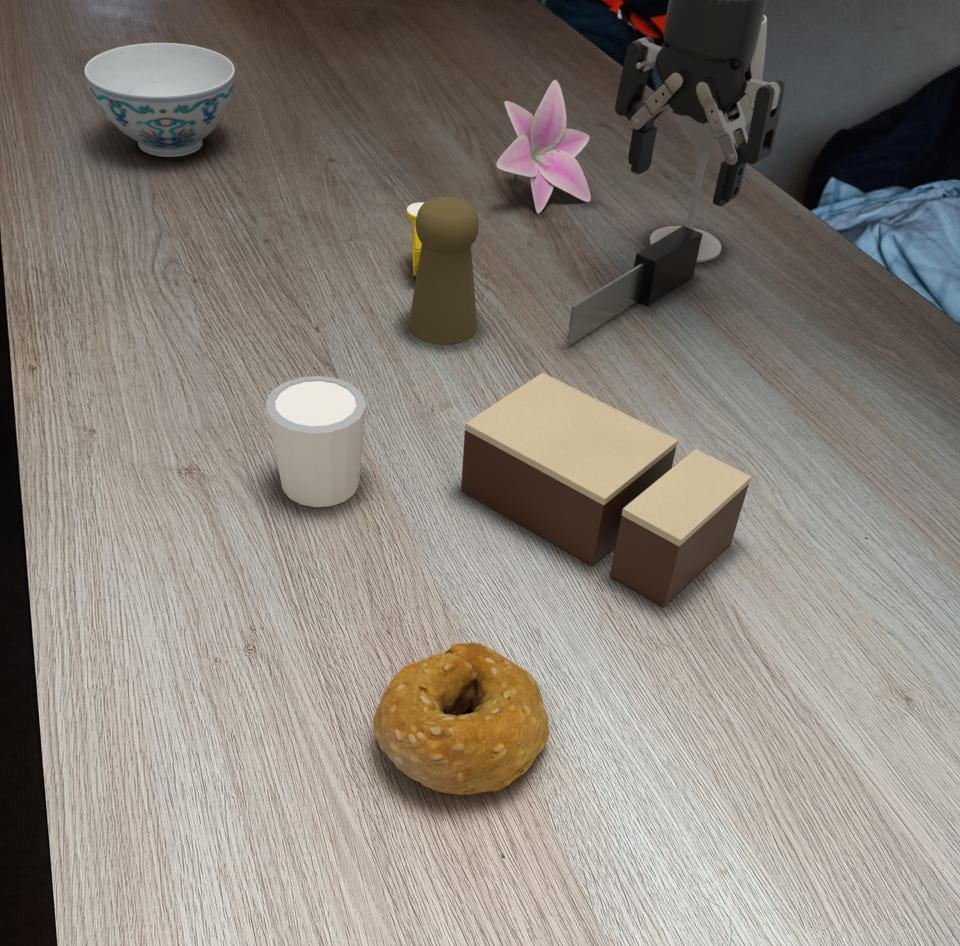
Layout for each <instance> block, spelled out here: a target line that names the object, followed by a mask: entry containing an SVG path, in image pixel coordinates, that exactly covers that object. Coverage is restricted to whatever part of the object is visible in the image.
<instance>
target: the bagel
mask: <svg viewBox="0 0 960 946" xmlns="http://www.w3.org/2000/svg"><path fill="white" fill-rule="evenodd" d="M544 706H545V705H544V699H543V697H542V694H541V689H540V687H539V685H538V682H537V680H535V679H534V677H533V676H532V674H531V673H530V672H529V671H528V670H526V669H525V668H523V667H522V666H520V665H518V664H516V663H515V662H513V661H512V660H510V659H508V658H506V657H505V656H503V654H500V653H499V652H497V651H495V650H494V649H492V648H491V647H488V646H486V645H484V644H481V643H479V642H472V641H471V642H467V643H466V642H465V643H462V642H459V643H456V644H454V645H453V644H452V645H451V646H450V647H449V648H448V649H447V650H446V651H445V652H440V653H437V654H431V655H430V656H428V657H425V658H423V659H420V660H418V661H414V662H410V663H408V664H407V665H405V666H404V667H402V669H401V670H399V671H398V672H397V673H396V675H395V676H394V677H393V678H392V679H391V680H390V682H389V684H388V685H387V687H386V688H385V691H384V692H383V693H382V696H381V698H380V702H379V703H378V704H377V706H376V711H375V714H374V715H373V718H372V719H373V720H372V721H373V725H374V736H375V738H376V740H377V743H378V746H379V748H380V749H381V750H382V752H384V753H385V754H386V755H387V756H388V758H389V760H390V761H391V762H393V764H394V766H395V767H396V768H397V769H398V770H400V771H401V772H402V773H403V774H405V776H407V777H408V778H410V779H412V780H414V781H415V782H419V784H421V785H422V786H423V787H426V788H428V789H430V790H433V791H435V792H438V793H443V794H450V795H458V796H461V795H467V796H469V795H470V796H471V795H477V794H483V793H488V792H496V791H500V790H501V789H502V788H505V787H508V786H509V785H511V783H512V782H514V781H515V780H516V779H517V778H520V777H521V776H522V775H524V774H525V773H526V772H527V771H528V770H529V769H530V768H531V767H532V765H533V763H534V762H535V760H536V758H537V757H538V756H539V754H540V753H541V752H542V751H543V750H544V747H545V746H546V745H547V743H548V741H549V738H550V737H549V736H550V727H549V716H548V714H547V711H546V708H545V707H544ZM468 709H470V710H471V711H472V712H470V713H465V712H467V710H468ZM464 713H465V714H464Z"/></svg>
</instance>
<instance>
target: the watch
mask: <svg viewBox="0 0 960 946" xmlns="http://www.w3.org/2000/svg"><path fill="white" fill-rule="evenodd" d="M424 203H425V202H424V201H423V202H421V201H420V202H414V203H411V204H409V205H407V207H406V218H407V219H408V221H410V222H412V275H413V277H415V278H416V276H417V270H418V264H419V258H420V251H421V245H422V243H421V241H420V240H419V238H418V236H417V232H416V228H415V223H416V217H417V213H418V210H419V209H420V207H421V206H422V204H424Z"/></svg>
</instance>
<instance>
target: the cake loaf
mask: <svg viewBox="0 0 960 946" xmlns="http://www.w3.org/2000/svg"><path fill="white" fill-rule="evenodd" d="M678 442H679V440H678V439H677V438H675V437H673V436H671V435H670V434H667V433H665V432H663V431H661V430H659V429H657V428H655V427H653V426H650V425H649V424H647V423H644V422H643V421H640V420H639V419H636V418H635V417H633V416H631V415H629V414H627V413H624V412H622V411H621V410H618V409H617V408H614V406H613V407H612V406H611V405H609V404H606V403H605V402H603V401H601V400H599V399H597V398H594V397H593V396H590V395H589V394H587V393H584V392H582V391H580V390H579V389H577V388H575V387H573V386H571V385H570V384H569V385H568V384H567V383H564V382H562V381H561V380H558V379H557V378H555V377H553V376H550V375H548V374H547V373H545V372H541V373H540V374H538V375H537V376H535V377H534V378H532V379H531V380H529V381H527V382H526V383H524V384H522V386H520V387H519V388H517V389H515V390H513V391H512V392H511V393H509V394H507V395H506V396H504V397H503V398H501V399H499V400H498V401H497V402H496V403H494V404H492V405H491V406H489V407H488V408H486V409H484V410H483V411H481V412H480V413H478V414H476V415H475V416H474V417H473V418H471V419H469V420H468V421H466V422H465V423H464V435H463V453H462V467H461V468H462V470H461V483H460V484H461V485H460V491H462V492H463V493H464V494H467V495H469V496H470V497H472V498H474V500H477V501H479V502H480V503H481V504H484V505H486V506H487V507H489V508H491V509H493V510H494V511H496V512H498V513H499V514H501V515H502V516H505V517H506V518H508V519H510V520H511V521H514V522H515V523H517V524H519V525H520V526H522V527H524V528H526V529H527V530H529V531H531V532H532V533H534V534H536V535H538V536H539V537H541V538H543V539H544V540H546V541H548V542H550V543H552V544H553V545H555V546H556V547H558V548H560V549H562V550H564V551H566V552H567V553H568V554H571V555H572V556H574V557H576V558H578V559H579V560H581V561H583V562H585V563H586V564H588V565H590V566H595V565H596V564H597V563H598V562H599V561H600V560H601V559H602V558H604V557H605V556H606V555H607V554H609V553H610V552H611V551H612V550H613V549H615V547H616V542H617V537H618V532H619V527H620V522H621V517H622V511H623V508H624V507H625V506H627V505H628V504H629V503H630V502H632V501H633V500H634V499H635V498H636V497H638V496H639V495H640V494H641V493H642V492H644V491H645V490H646V489H647V488H649V487H650V486H651V485H652V484H653V483H655V482H656V481H657V480H658V479H659V478H661V477H662V476H663V475H664V474H666V473H667V472H668V471H669V470H670V469H672V468H673V464H674V461H675V460H674V459H675V456H676V451H677V446H678Z"/></svg>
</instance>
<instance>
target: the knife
mask: <svg viewBox="0 0 960 946" xmlns="http://www.w3.org/2000/svg"><path fill="white" fill-rule="evenodd" d="M681 226H682V227H680V228H678V229H677V230H675V231H673V232H672V233H670V234H668V235H667V236H665V237H663V238H662V239H660V240H658V241H657V242H655V243H653V244H652V245H650V244H649V246H647V247H645V248H643V249H642V250H640V251H639V252H636V254H635V258H634V264H633V268H631V269H630V270H628V271H626V272H625V273H623V274H621V275H620V276H618V277H616V278H614V279H613V280H611V281H610V282H608V283H607V284H605V285H603V286H602V287H600V288H598V289H597V290H595V291H594V292H592V293H591V294H589V295H587V296H585V297H584V298H582V299H580V300H579V301H577V302H575V303H574V304H572V305H571V311H570V318H569V324H568V325H569V326H568V332H567V340H566V344H568V345H571V344H573V343H574V342H576V341H577V340H579V339H581V338H582V337H584V336H585V335H586V334H588V333H590V332H591V331H593V330H594V329H596V328H598V327H599V326H600V325H602V324H603V323H606V322H607V321H608V320H610V319H612V318H614V316H616V315H618V314H619V313H620V312H622V311H624V310H625V309H627V308H629V307H630V306H632V305H633V304H635V303H636V302H637V303H639V304H641V305H643V306H645V307H649V306H651V305H652V304H654V303H655V302H657V301H659V300H660V299H663V298H664V297H665V296H666V295H668V294H670V293H671V292H672V291H674V290H676V289H677V288H679V287H680V286H681V285H683V284H686V282H688V281H689V280H691V279H692V278H694V277H695V271H696V267H697V263H696V262H697V257H698V253H699V248H700V244H701V239H702V233H700V232H698V231H695V230H693V229H690V228H688V227H685V226H684V225H681Z"/></svg>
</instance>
